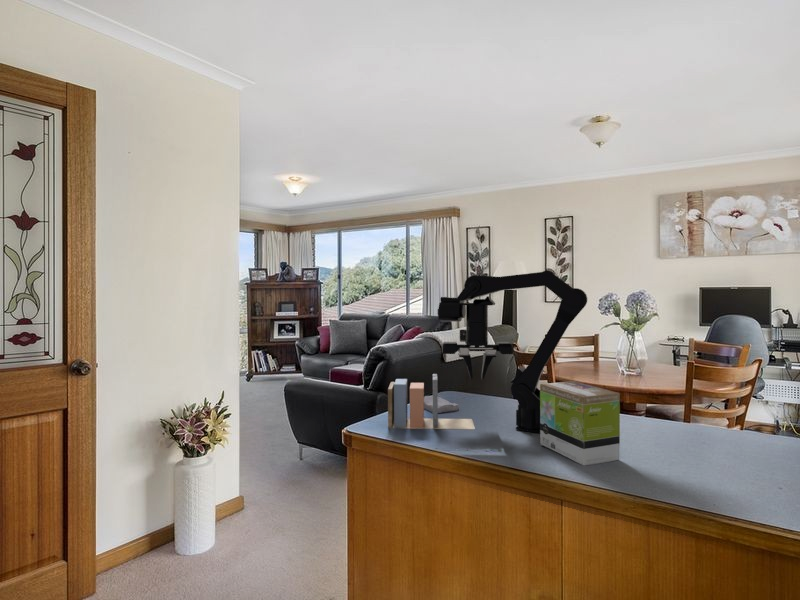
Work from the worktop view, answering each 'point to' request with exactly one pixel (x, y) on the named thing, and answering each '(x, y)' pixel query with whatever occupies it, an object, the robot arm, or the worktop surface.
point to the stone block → (439, 405)
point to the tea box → (580, 421)
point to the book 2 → (417, 405)
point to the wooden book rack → (427, 422)
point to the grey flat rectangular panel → (435, 401)
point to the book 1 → (400, 403)
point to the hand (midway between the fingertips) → (477, 379)
